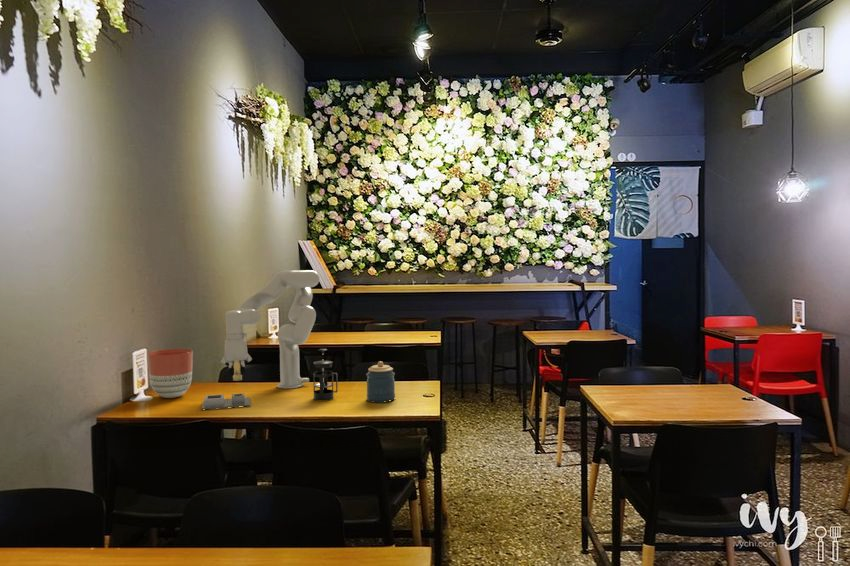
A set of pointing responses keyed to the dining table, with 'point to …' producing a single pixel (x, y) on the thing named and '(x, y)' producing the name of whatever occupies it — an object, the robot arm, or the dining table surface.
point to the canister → (380, 383)
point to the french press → (323, 380)
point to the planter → (170, 371)
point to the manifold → (225, 401)
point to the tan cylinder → (237, 370)
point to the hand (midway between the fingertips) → (237, 374)
